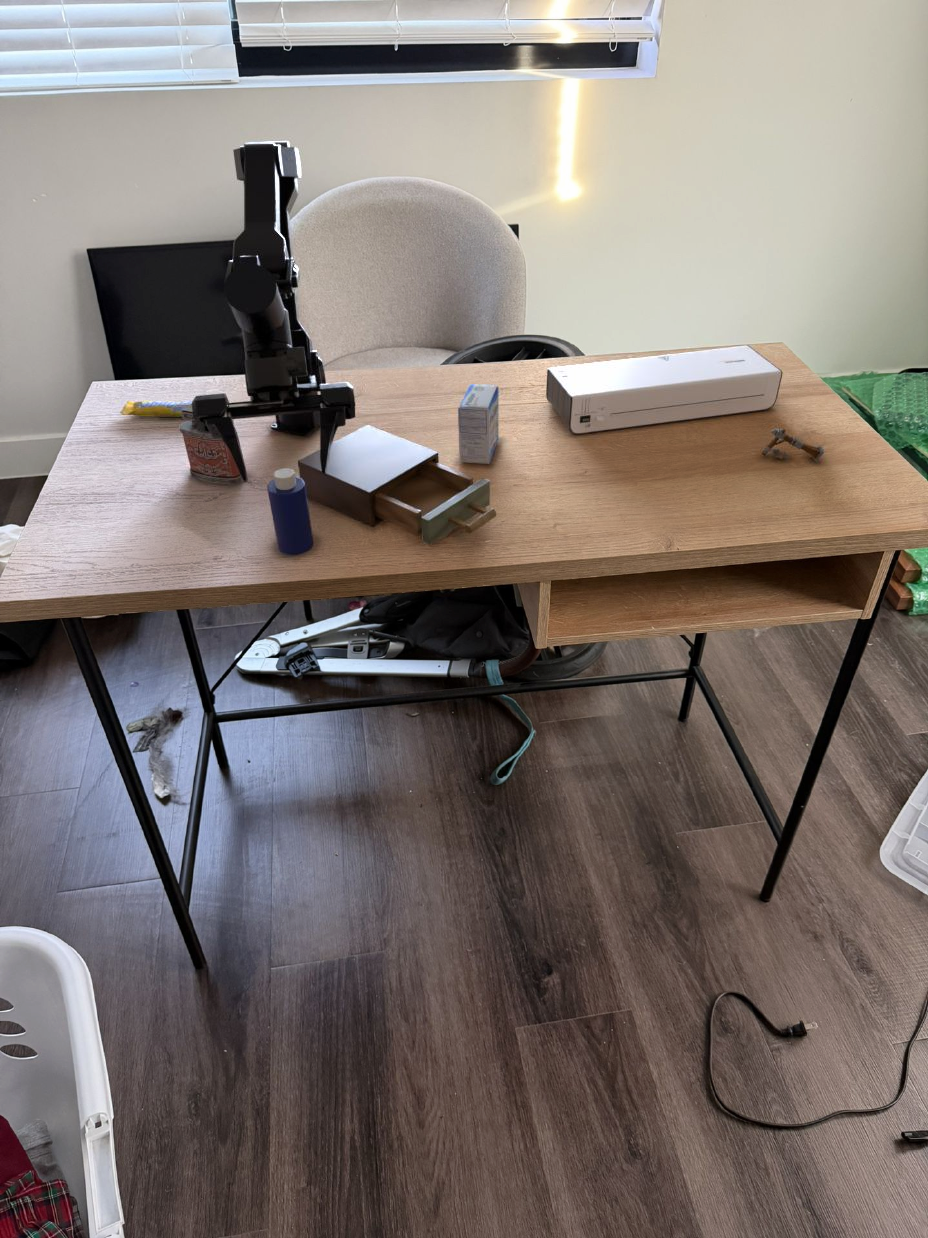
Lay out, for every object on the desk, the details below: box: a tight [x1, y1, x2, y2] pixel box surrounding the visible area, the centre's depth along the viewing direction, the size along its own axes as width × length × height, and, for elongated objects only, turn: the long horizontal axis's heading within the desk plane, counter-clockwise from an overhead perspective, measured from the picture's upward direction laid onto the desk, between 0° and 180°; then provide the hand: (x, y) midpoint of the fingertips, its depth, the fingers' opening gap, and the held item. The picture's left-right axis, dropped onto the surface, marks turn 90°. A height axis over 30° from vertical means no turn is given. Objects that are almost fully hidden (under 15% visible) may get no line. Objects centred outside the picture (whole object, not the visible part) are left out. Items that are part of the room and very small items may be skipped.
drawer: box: [373, 461, 497, 546], centre depth 110 cm, size 16×12×4 cm
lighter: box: [178, 407, 244, 485], centre depth 117 cm, size 8×3×10 cm, turn 71°
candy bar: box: [119, 399, 230, 418], centre depth 136 cm, size 17×4×2 cm, turn 91°
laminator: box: [545, 345, 784, 436], centre depth 133 cm, size 34×12×6 cm, turn 104°
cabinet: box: [297, 424, 440, 529], centre depth 115 cm, size 13×13×5 cm
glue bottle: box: [266, 467, 315, 556], centre depth 104 cm, size 4×4×10 cm
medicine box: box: [457, 383, 500, 465], centre depth 122 cm, size 8×4×9 cm, turn 168°
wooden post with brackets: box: [761, 427, 825, 463], centre depth 121 cm, size 2×8×4 cm, turn 86°
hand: (284, 477), depth 102 cm, fingers open, 9 cm apart
